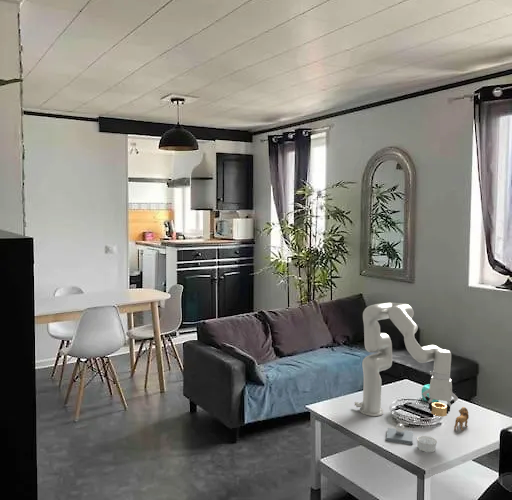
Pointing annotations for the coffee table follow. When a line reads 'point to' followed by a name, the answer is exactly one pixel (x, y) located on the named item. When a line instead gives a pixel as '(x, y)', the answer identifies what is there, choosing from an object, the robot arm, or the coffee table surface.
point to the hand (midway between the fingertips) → (438, 411)
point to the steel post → (399, 429)
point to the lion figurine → (462, 418)
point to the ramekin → (426, 443)
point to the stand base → (400, 439)
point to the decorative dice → (428, 393)
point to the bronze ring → (439, 409)
